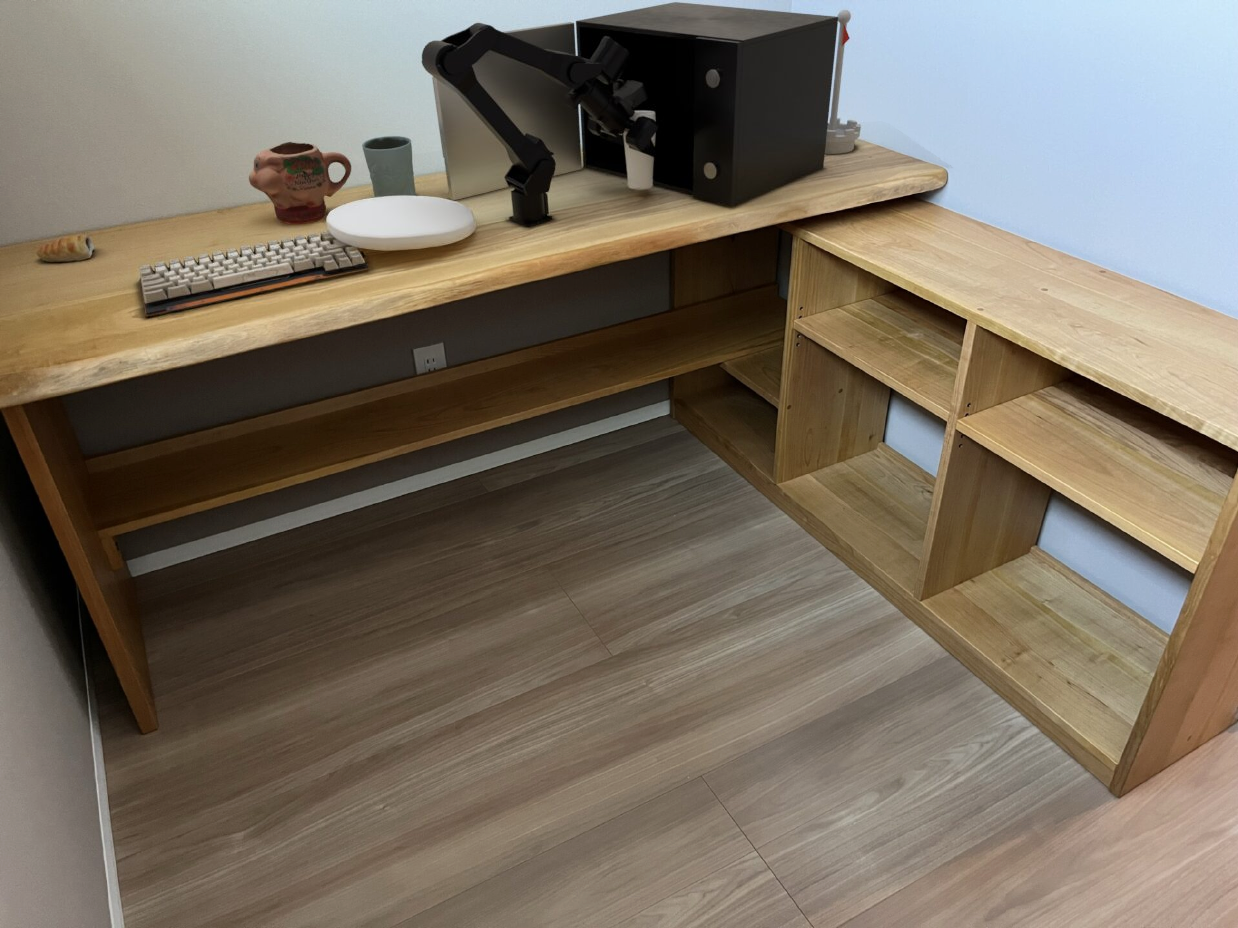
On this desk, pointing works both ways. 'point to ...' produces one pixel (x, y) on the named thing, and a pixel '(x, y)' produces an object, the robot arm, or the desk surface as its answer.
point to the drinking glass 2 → (639, 160)
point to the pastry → (67, 249)
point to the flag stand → (838, 133)
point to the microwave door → (524, 99)
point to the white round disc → (401, 222)
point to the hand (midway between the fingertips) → (645, 151)
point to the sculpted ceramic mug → (297, 180)
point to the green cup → (390, 165)
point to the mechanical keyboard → (245, 272)
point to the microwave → (721, 95)
